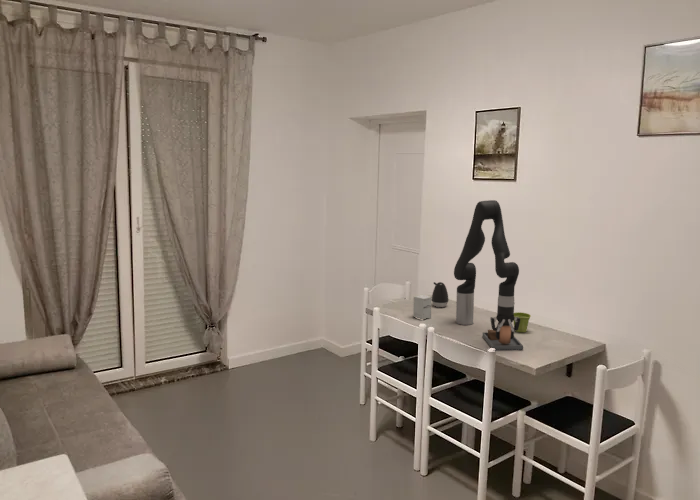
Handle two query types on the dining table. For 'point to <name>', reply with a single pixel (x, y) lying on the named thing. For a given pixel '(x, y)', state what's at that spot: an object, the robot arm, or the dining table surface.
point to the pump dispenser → (440, 295)
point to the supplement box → (422, 306)
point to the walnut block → (492, 335)
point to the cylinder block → (505, 335)
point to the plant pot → (522, 321)
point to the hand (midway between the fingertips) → (504, 338)
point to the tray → (500, 346)
